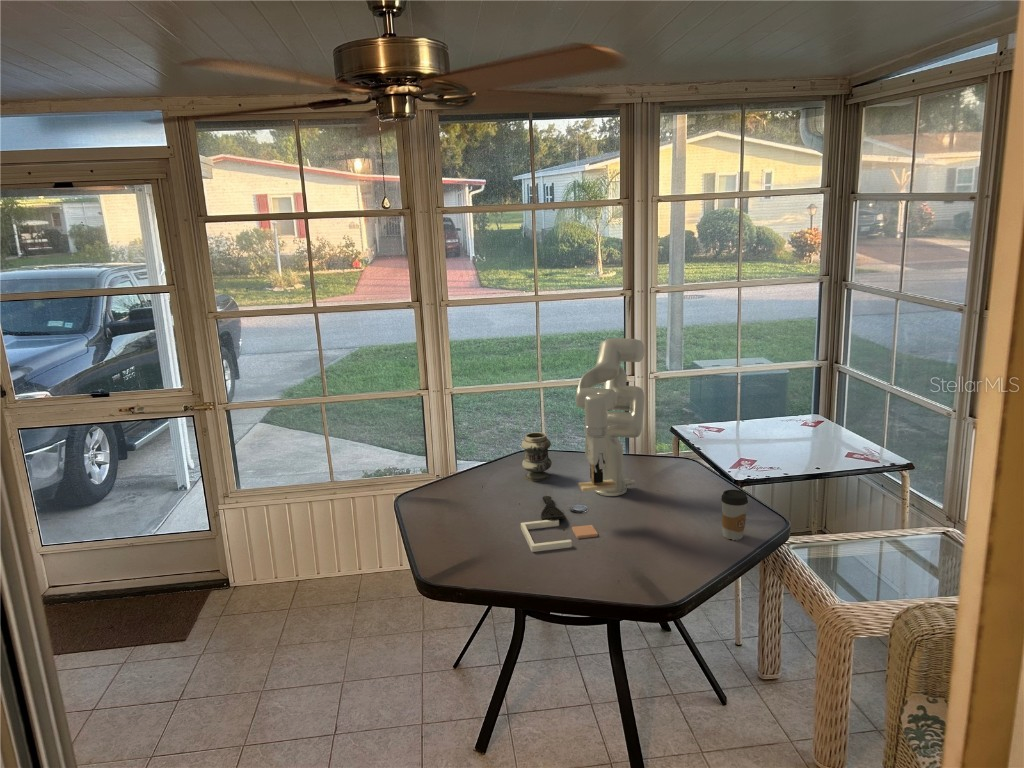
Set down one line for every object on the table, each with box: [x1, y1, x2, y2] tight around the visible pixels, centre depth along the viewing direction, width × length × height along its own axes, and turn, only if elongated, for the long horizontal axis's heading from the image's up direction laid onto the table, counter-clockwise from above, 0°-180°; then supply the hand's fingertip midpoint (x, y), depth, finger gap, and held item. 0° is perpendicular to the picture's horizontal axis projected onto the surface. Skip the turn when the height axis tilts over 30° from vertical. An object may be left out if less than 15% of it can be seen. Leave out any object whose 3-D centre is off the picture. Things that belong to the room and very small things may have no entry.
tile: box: [571, 524, 599, 540], centre depth 238 cm, size 7×7×2 cm
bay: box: [520, 519, 573, 553], centre depth 236 cm, size 13×18×2 cm
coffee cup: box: [721, 489, 749, 541], centre depth 230 cm, size 8×8×15 cm
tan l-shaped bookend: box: [578, 462, 617, 493], centre depth 243 cm, size 5×12×8 cm, turn 101°
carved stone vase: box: [521, 431, 553, 482], centre depth 288 cm, size 12×12×18 cm
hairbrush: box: [540, 495, 566, 521], centre depth 256 cm, size 8×4×25 cm
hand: (596, 480), depth 245 cm, fingers closed on tan l-shaped bookend, 3 cm apart
